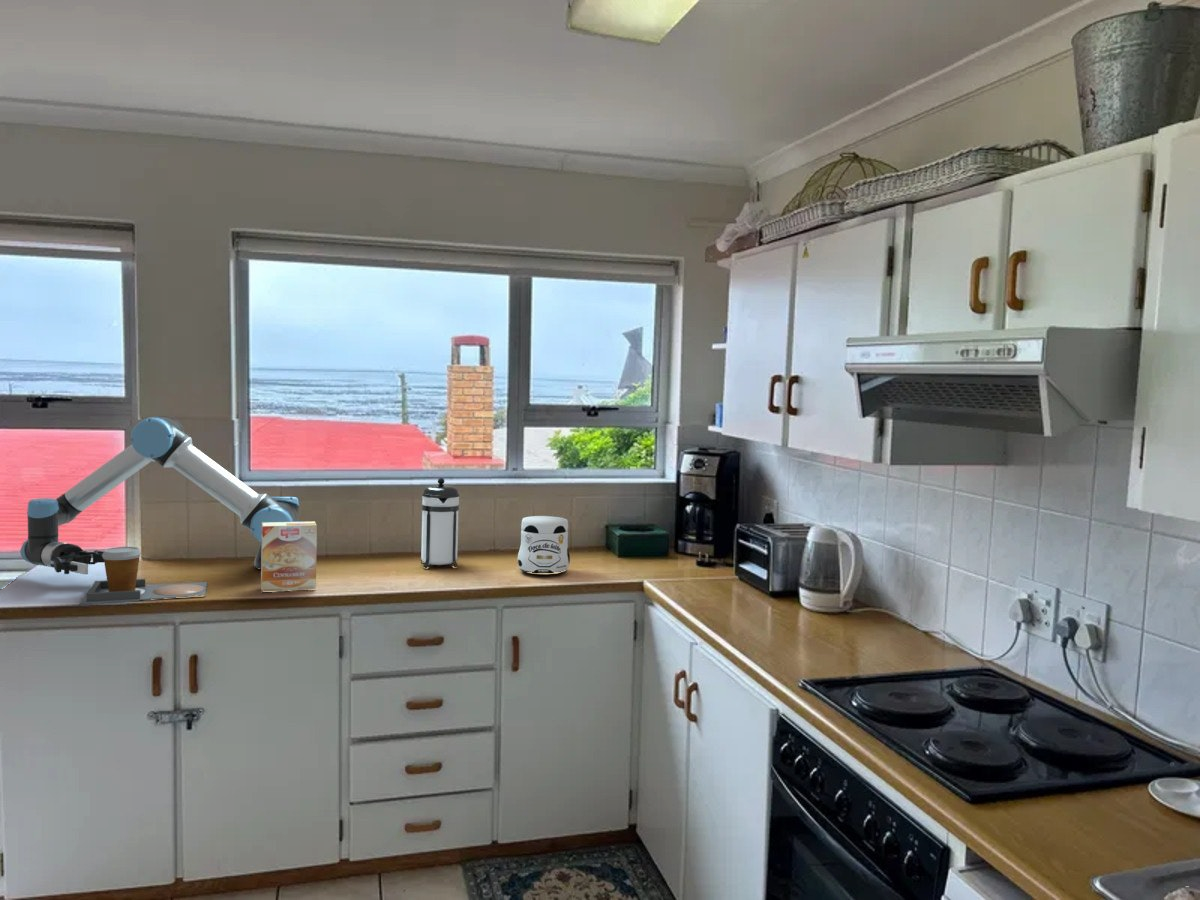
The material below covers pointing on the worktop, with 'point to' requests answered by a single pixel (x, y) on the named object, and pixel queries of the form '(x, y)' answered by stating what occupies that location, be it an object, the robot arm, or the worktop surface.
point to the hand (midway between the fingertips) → (110, 565)
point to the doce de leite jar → (544, 544)
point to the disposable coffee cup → (121, 567)
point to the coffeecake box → (288, 556)
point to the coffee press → (440, 524)
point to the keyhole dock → (142, 592)
